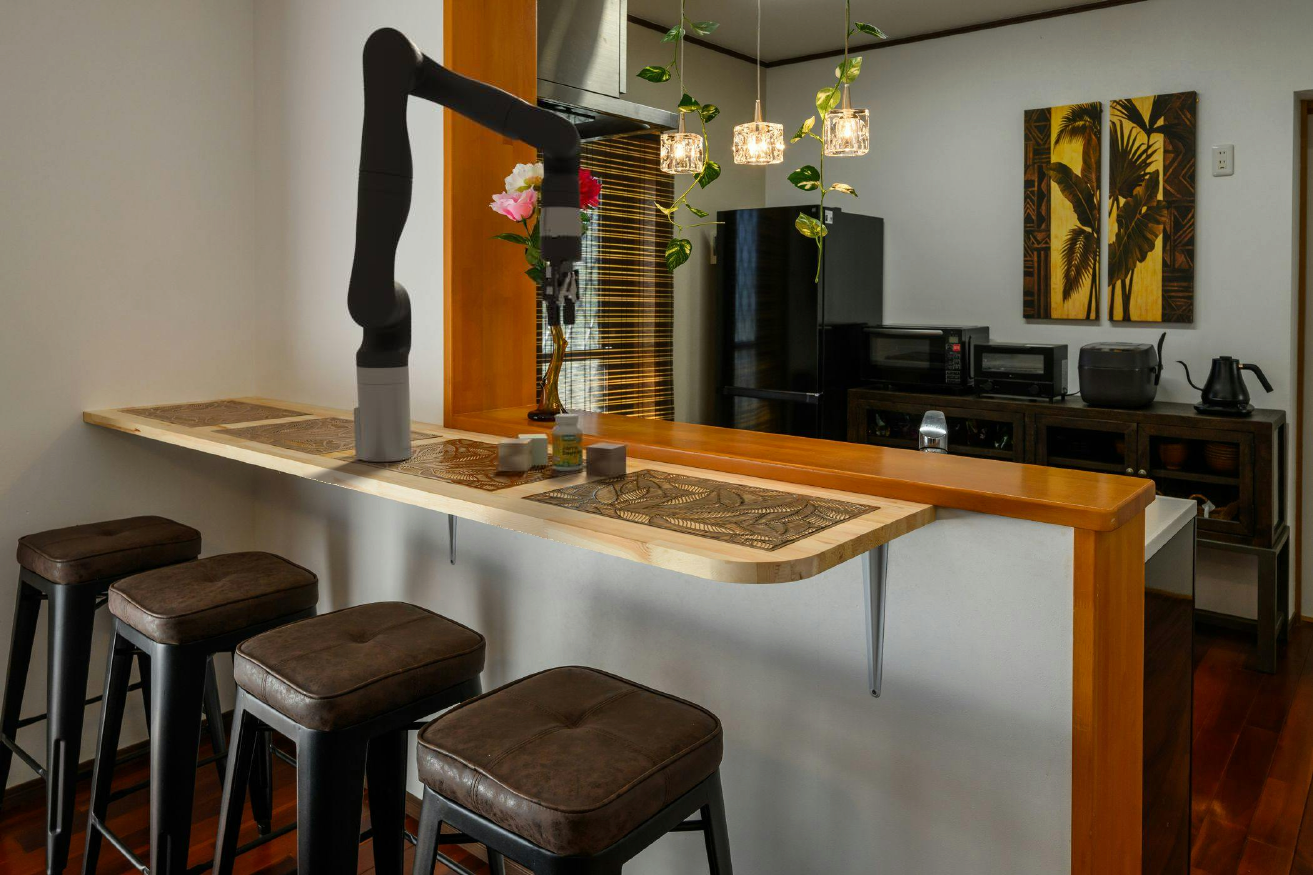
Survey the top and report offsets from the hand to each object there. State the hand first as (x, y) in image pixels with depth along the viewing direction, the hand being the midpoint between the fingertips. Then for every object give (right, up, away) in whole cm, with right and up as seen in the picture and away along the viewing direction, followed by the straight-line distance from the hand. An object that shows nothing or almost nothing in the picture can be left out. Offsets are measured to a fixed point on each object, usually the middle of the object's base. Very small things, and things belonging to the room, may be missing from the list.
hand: (561, 325), depth 165 cm
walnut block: (+9, -27, -9) cm, 30 cm away
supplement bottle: (+2, -26, -5) cm, 27 cm away
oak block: (-8, -26, -5) cm, 27 cm away
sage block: (-5, -25, +1) cm, 26 cm away
